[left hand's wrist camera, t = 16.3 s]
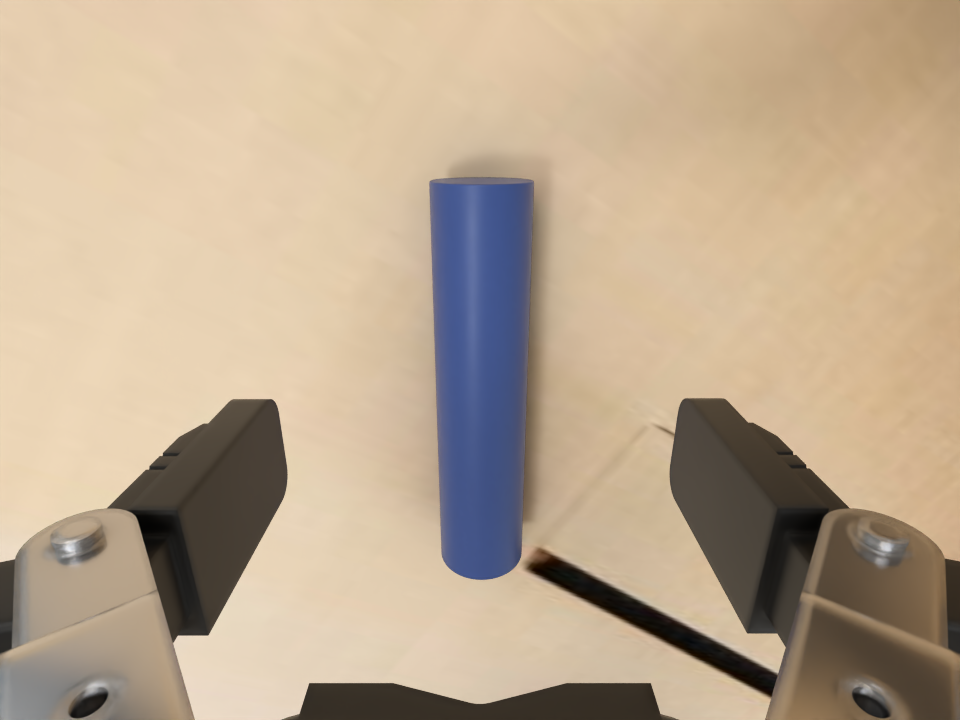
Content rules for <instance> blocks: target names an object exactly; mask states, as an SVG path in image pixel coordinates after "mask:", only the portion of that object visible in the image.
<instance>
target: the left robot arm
mask: <svg viewBox="0 0 960 720" xmlns="http://www.w3.org/2000/svg"><path fill="white" fill-rule="evenodd" d="M670 485H671V490H672V494H673V497H674V499H675V501H676V503H677V505H678V507H679V508H680V510H681V512H682V514H683V516H684V518H685V519H686V521H687V523H688V525H689V527H690V529H691V530H692V532H693V534H694V536H695V538H696V540H697V542H698V543H699V545H700V547H701V549H702V551H703V553H704V554H705V556H706V558H707V560H708V562H709V564H710V565H711V567H712V569H713V571H714V573H715V575H716V577H717V578H718V580H719V582H720V584H721V586H722V588H723V589H724V591H725V593H726V595H727V597H728V599H729V601H730V602H731V604H732V606H733V608H734V610H735V612H736V613H737V615H738V617H739V619H740V621H741V623H742V624H743V626H744V628H745V630H746V632H747V633H778V635H779V637H780V638H781V640H782V642H783V643H784V645H785V647H786V649H785V652H784V656H783V659H782V663H781V666H780V670H779V673H778V677H777V680H776V684H775V688H774V691H773V695H772V698H771V702H770V705H769V709H768V712H767V716H766V719H765V720H960V562H959V561H954V560H949V559H945V558H944V555H943V553H942V552H941V550H940V549H939V547H938V546H937V545H936V544H935V543H934V542H933V541H932V540H931V539H930V538H928V537H927V536H926V535H924V534H923V533H922V532H920V531H918V530H917V529H915V528H914V527H912V526H910V525H908V524H906V523H904V522H902V521H900V520H897V519H895V518H892V517H889V516H887V515H884V514H880V513H877V512H873V511H868V510H862V509H850V508H849V507H848V506H847V505H846V504H845V503H844V502H843V501H842V500H841V499H840V498H839V497H838V496H837V495H836V494H835V493H834V492H833V491H832V490H831V489H830V488H829V487H828V486H827V485H826V484H825V483H824V482H823V481H822V480H821V479H820V478H819V477H818V476H817V475H816V474H815V473H814V472H813V471H812V470H811V469H807V468H806V464H805V463H804V462H803V461H802V460H801V459H800V458H799V457H798V456H797V455H793V451H792V450H791V449H790V448H789V447H788V446H787V445H786V444H785V443H784V442H783V441H782V440H781V439H779V438H778V437H777V436H776V435H774V434H772V433H770V432H769V431H767V430H765V429H763V428H761V427H760V426H758V425H756V424H754V423H748V422H747V421H746V420H745V419H744V418H743V417H742V416H741V415H740V414H739V413H738V412H737V411H736V410H735V409H734V407H733V406H732V405H731V404H730V403H729V402H728V401H727V400H726V399H722V398H685V399H684V400H683V401H682V402H681V404H680V407H679V411H678V417H677V423H676V430H675V437H674V444H673V450H672V457H671V464H670ZM286 486H287V464H286V458H285V451H284V444H283V438H282V431H281V424H280V418H279V412H278V408H277V405H276V403H275V401H273V400H272V399H233V400H231V401H230V402H229V403H228V404H227V405H226V406H225V407H224V408H223V409H222V410H221V411H220V412H219V413H218V414H217V415H216V416H215V417H214V418H213V419H212V420H211V421H210V422H209V423H208V424H202V425H200V426H199V427H197V428H195V429H193V430H191V431H189V432H188V433H186V434H184V435H182V436H180V437H179V438H178V439H177V440H176V441H175V442H174V443H173V444H172V445H171V446H170V447H169V448H168V449H167V450H166V451H165V452H164V453H163V456H160V457H159V458H157V459H156V460H155V461H154V462H153V463H152V464H151V465H150V469H149V470H145V471H144V472H143V473H142V474H141V475H140V476H139V477H138V478H137V479H136V480H135V481H134V482H133V483H132V484H131V485H130V486H129V487H128V488H127V489H126V490H125V491H124V492H123V493H122V494H121V495H120V496H119V497H118V498H117V499H116V500H115V501H114V502H113V503H112V504H111V505H110V506H109V507H108V508H107V509H98V510H92V511H87V512H83V513H80V514H76V515H73V516H71V517H68V518H65V519H63V520H60V521H58V522H56V523H54V524H52V525H50V526H48V527H46V528H45V529H43V530H42V531H40V532H38V533H37V534H36V535H34V536H33V537H32V538H30V539H29V540H28V541H27V542H26V543H25V544H24V545H23V546H22V547H21V549H20V550H19V552H18V553H17V555H16V558H15V560H10V561H5V562H0V720H195V719H194V716H193V712H192V709H191V705H190V702H189V698H188V695H187V691H186V688H185V684H184V680H183V677H182V673H181V670H180V666H179V663H178V659H177V656H176V652H175V649H174V645H173V642H174V641H175V639H176V638H177V636H178V635H209V633H210V631H211V630H212V628H213V626H214V624H215V622H216V620H217V619H218V617H219V615H220V613H221V611H222V610H223V608H224V606H225V604H226V602H227V600H228V599H229V597H230V595H231V593H232V591H233V589H234V588H235V586H236V584H237V582H238V580H239V579H240V577H241V575H242V573H243V571H244V569H245V568H246V566H247V564H248V562H249V560H250V559H251V557H252V555H253V553H254V551H255V549H256V548H257V546H258V544H259V542H260V540H261V538H262V537H263V535H264V533H265V531H266V529H267V528H268V526H269V524H270V522H271V520H272V518H273V517H274V515H275V513H276V511H277V509H278V508H279V506H280V504H281V502H282V500H283V498H284V495H285V491H286ZM282 720H678V719H675V718H672V717H669V716H665V715H662V714H660V712H659V708H658V705H657V702H656V699H655V696H654V692H653V689H652V686H651V683H566V684H562V685H558V686H554V687H550V688H547V689H543V690H539V691H535V692H531V693H527V694H523V695H519V696H515V697H511V698H507V699H503V700H500V701H496V702H492V703H487V704H473V703H468V702H464V701H460V700H457V699H453V698H449V697H445V696H441V695H437V694H433V693H429V692H425V691H421V690H417V689H413V688H410V687H406V686H402V685H398V684H394V683H309V686H308V689H307V692H306V696H305V699H304V702H303V705H302V708H301V712H300V714H298V715H295V716H291V717H288V718H285V719H282Z"/></svg>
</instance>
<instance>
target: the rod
mask: <svg viewBox="0 0 960 720" xmlns="http://www.w3.org/2000/svg"><path fill="white" fill-rule="evenodd" d="M429 184H430V215H431V245H432V275H433V306H434V336H435V366H436V397H437V427H438V457H439V488H440V518H441V548H442V557H443V560H444V562H445V563H446V565H447V566H448V567H449V568H450V569H451V570H452V571H453V572H455V573H457V574H459V575H461V576H463V577H466V578H470V579H478V580H486V579H493V578H497V577H500V576H503V575H505V574H507V573H508V572H510V571H511V570H512V569H513V568H514V567H515V566H516V565H517V564H518V562H519V560H520V558H521V550H522V521H523V491H524V462H525V432H526V403H527V374H528V344H529V315H530V285H531V256H532V226H533V197H534V181H532V180H528V179H518V178H489V177H475V178H446V179H435V180H431V181H430V183H429Z"/></svg>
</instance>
